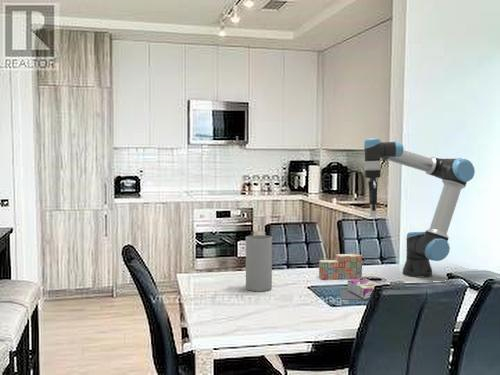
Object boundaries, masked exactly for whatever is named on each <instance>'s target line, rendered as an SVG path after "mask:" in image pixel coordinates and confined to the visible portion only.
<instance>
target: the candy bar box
mask: <svg viewBox="0 0 500 375" xmlns="http://www.w3.org/2000/svg"><path fill="white" fill-rule="evenodd" d="M376 285H380V283H377V282H376V281H373V280H370V279H369V280H368V279H367V278H366V279H350V280H347V290H348V291H350V292H352V293H354V294H356V295H357V296H359V297H361V298H363V299H369V297H370V295H371V293H372V290H373V288H374V286H376Z"/></svg>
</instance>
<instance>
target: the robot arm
mask: <svg viewBox="0 0 500 375" xmlns="http://www.w3.org/2000/svg"><path fill="white" fill-rule="evenodd" d="M363 148H364V163H363V165H364V177H365V178H366V179H368V180H369V181H368V182H367V185H368V197H369V198H368V199H369V201H368V204H369V206H370V208H369V213H370V214H369V215H370V217H369V218H377V205H378V204H377V203H378V186H379V184H378V181H377V178H378V179H379V178H381V175H382V174H381V173H382V172H381V170H380V169H381V159H382V160H387V161H389V162H392V163H396V164H399V165H403V166H406V167H409V168H413V169H415V170H416V169H417V170H419V171H423V172H425V175H426V174H427V175H429V176H433V177H435V178H438V179H441V181H442V183H443V186H442V189H441V193H440V196H439V199H438V201H437V205H436V208H435V211H434V214H433V217H432V220H431V223H430V227H429V228H428V229H426V230H425V231H409V232H407V234H406V239H405V240H406V260H405V262H404V265H403V268H402V274H403V275H405V276H408V277H412V278H413V277H415V278H428V277H431V276H433V268H432V266H431V265H432V264H431V262H430V261H435V262H440V261H442V260H444V259H446V258H447V256H448V255H449V253H450V250H451V248H450V247H451V246H450V243H449V242H448V241H449V239H450V238H449V236H448V234H447V233H448V231H449V228H450V226H451V222H452V219H453V215H454V213H455V210H456V206H457V203H458V201H459V197H460V194H461V191H462V190H464V189H465V188H466V186H467V184H468V183H467V182H469V181H471V180H473V178H474V176H475V172H476V171H475V166H474V165H473V162H471V161H470V160H469V159H466V158H461V157H459V158H439V157H435V156H431V157H428V156H424V155H421V154H418V153H415V152H411V151H407V150H405V149H404V148H405V147H404V145H403V143H402V142H401V141H384V142H383V141H381V140H380V137H379V138H377V137H375V138H373V137H372V138H366V139H364V147H363Z"/></svg>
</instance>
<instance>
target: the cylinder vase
mask: <svg viewBox="0 0 500 375" xmlns="http://www.w3.org/2000/svg"><path fill="white" fill-rule="evenodd" d="M272 240H273V236H271V235H262V234H258V235H257V234H256V235H255V234H254V235H247V236H245V290H247V291H250V292H259V293H260V292H261V293H262V292H267V291H270V290H272V287H273V285H272V284H273V277H272V276H273V256H272V255H273V250H272V249H273V248H272V247H273V241H272Z"/></svg>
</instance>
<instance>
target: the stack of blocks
mask: <svg viewBox="0 0 500 375" xmlns="http://www.w3.org/2000/svg"><path fill="white" fill-rule="evenodd" d="M318 263H319V264H318V266H319V267H318V274H319V275H318V278H320V280H322V281H323V280H324V281H326V280H329V281H330V280H360V279H359V278H361V277H362V276H363V256H362V254H359V253H358V254H357V253H345V254H344V253H340V254H335V259H319V261H318ZM362 278H363V277H362Z"/></svg>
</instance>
